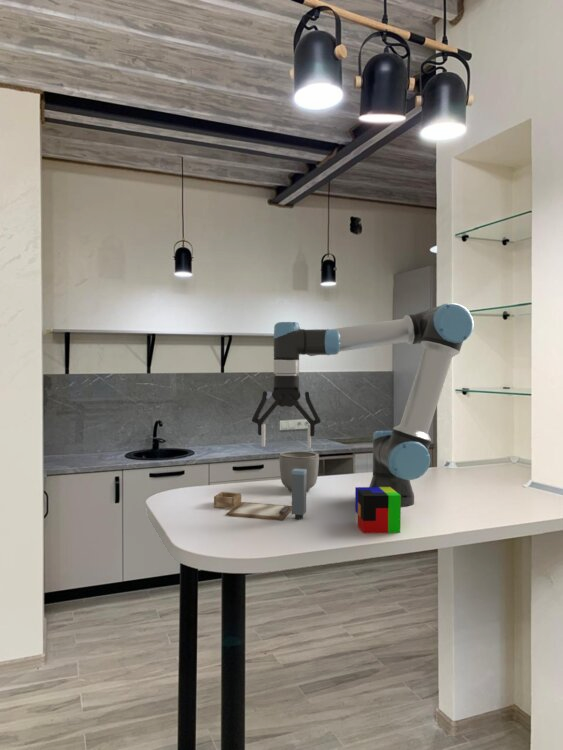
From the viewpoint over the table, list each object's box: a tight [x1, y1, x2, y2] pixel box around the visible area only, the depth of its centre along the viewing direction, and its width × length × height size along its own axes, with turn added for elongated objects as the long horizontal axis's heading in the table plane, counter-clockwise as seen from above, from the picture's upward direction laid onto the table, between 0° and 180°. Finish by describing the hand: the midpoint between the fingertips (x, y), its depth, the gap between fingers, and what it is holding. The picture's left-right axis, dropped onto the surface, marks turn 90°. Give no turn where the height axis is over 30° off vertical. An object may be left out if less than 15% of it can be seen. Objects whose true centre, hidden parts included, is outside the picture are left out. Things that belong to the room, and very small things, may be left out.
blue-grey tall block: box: [291, 468, 307, 520], centre depth 158 cm, size 4×4×14 cm
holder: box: [213, 491, 242, 510], centre depth 171 cm, size 7×7×3 cm
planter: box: [278, 450, 320, 493], centre depth 192 cm, size 14×14×13 cm
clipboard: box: [225, 501, 292, 521], centre depth 165 cm, size 17×14×1 cm
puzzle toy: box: [354, 486, 402, 534], centre depth 150 cm, size 10×10×10 cm
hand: (286, 447), depth 162 cm, fingers open, 13 cm apart
